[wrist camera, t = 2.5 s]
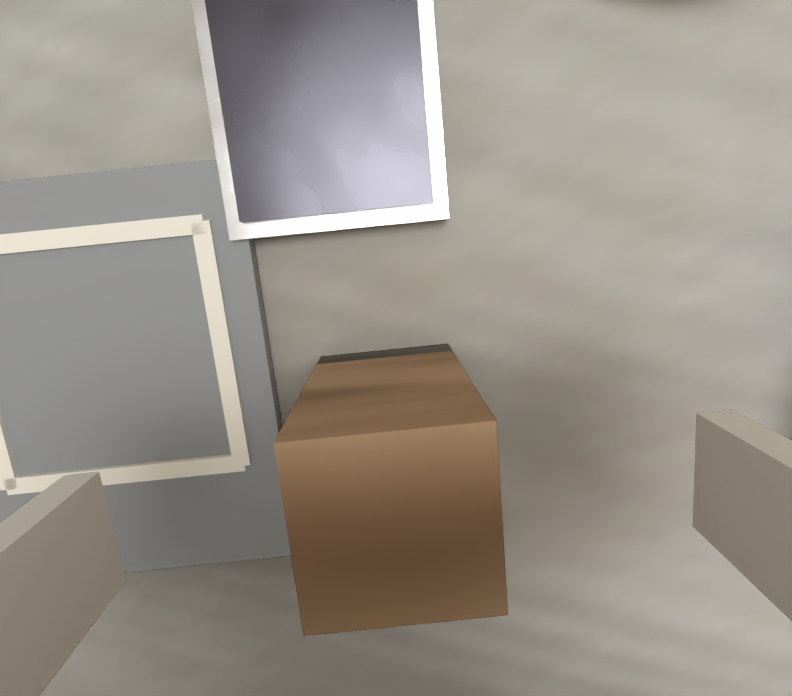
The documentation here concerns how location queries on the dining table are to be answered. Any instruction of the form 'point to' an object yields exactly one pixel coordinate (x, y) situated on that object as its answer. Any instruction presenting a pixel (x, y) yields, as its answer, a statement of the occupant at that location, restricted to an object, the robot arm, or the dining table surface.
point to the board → (140, 362)
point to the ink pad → (323, 113)
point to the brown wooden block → (392, 493)
